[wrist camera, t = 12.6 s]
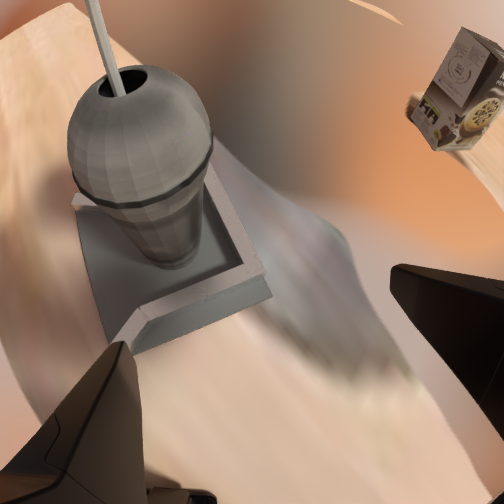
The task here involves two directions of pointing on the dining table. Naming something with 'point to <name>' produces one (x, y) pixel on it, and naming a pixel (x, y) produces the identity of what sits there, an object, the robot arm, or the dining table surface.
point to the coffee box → (463, 94)
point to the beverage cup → (143, 153)
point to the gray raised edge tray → (158, 278)
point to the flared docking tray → (200, 291)
